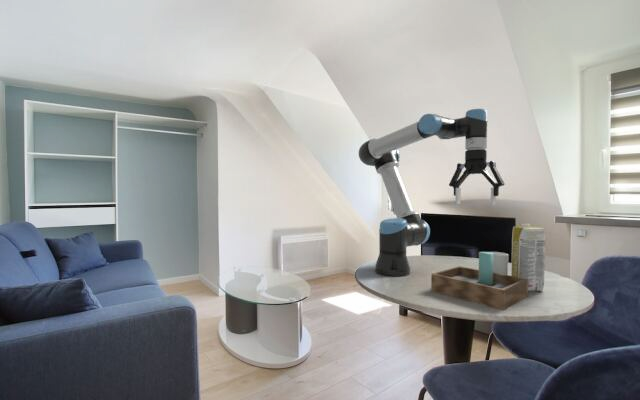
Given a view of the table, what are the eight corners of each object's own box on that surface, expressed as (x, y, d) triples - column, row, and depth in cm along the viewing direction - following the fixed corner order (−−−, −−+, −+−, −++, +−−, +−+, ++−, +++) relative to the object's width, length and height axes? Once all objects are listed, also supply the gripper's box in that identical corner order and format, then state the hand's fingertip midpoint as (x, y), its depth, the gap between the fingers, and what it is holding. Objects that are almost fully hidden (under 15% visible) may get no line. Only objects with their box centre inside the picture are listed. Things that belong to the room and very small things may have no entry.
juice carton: (532, 285, 121) (533, 222, 120) (547, 292, 113) (549, 224, 112) (508, 285, 121) (509, 222, 120) (521, 291, 113) (523, 224, 112)
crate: (431, 290, 113) (431, 273, 113) (459, 281, 126) (459, 266, 126) (503, 310, 95) (503, 290, 95) (527, 296, 107) (528, 279, 107)
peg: (481, 289, 115) (482, 251, 115) (494, 292, 112) (495, 253, 111) (475, 292, 112) (476, 252, 112) (489, 295, 109) (489, 254, 108)
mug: (510, 287, 118) (511, 255, 117) (491, 286, 119) (492, 254, 119) (500, 280, 128) (501, 250, 127) (482, 279, 129) (483, 250, 129)
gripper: (441, 152, 130) (440, 203, 131) (506, 145, 111) (505, 205, 111) (450, 153, 135) (449, 203, 136) (515, 147, 116) (513, 205, 116)
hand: (474, 204), depth 123 cm, fingers open, 13 cm apart
